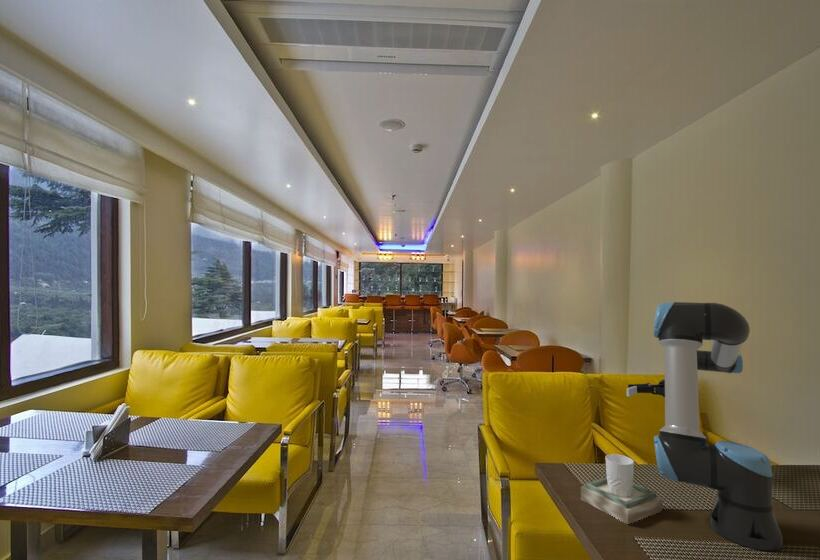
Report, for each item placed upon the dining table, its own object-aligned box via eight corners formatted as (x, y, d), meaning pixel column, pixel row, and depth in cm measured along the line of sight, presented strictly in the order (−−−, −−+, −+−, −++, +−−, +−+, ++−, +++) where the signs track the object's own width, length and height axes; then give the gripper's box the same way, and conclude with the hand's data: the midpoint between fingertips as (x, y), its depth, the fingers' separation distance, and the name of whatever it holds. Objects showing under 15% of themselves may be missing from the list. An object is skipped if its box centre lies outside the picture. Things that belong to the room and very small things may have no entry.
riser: (662, 511, 120) (661, 493, 120) (628, 525, 113) (627, 506, 113) (613, 488, 134) (613, 472, 135) (580, 499, 127) (580, 482, 127)
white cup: (627, 486, 128) (627, 454, 128) (639, 498, 120) (638, 465, 120) (601, 485, 128) (601, 453, 129) (611, 497, 120) (611, 464, 121)
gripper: (712, 405, 141) (689, 416, 128) (638, 391, 161) (612, 399, 148) (711, 383, 141) (689, 392, 129) (637, 372, 161) (611, 379, 149)
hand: (647, 396), depth 139 cm, fingers open, 13 cm apart
